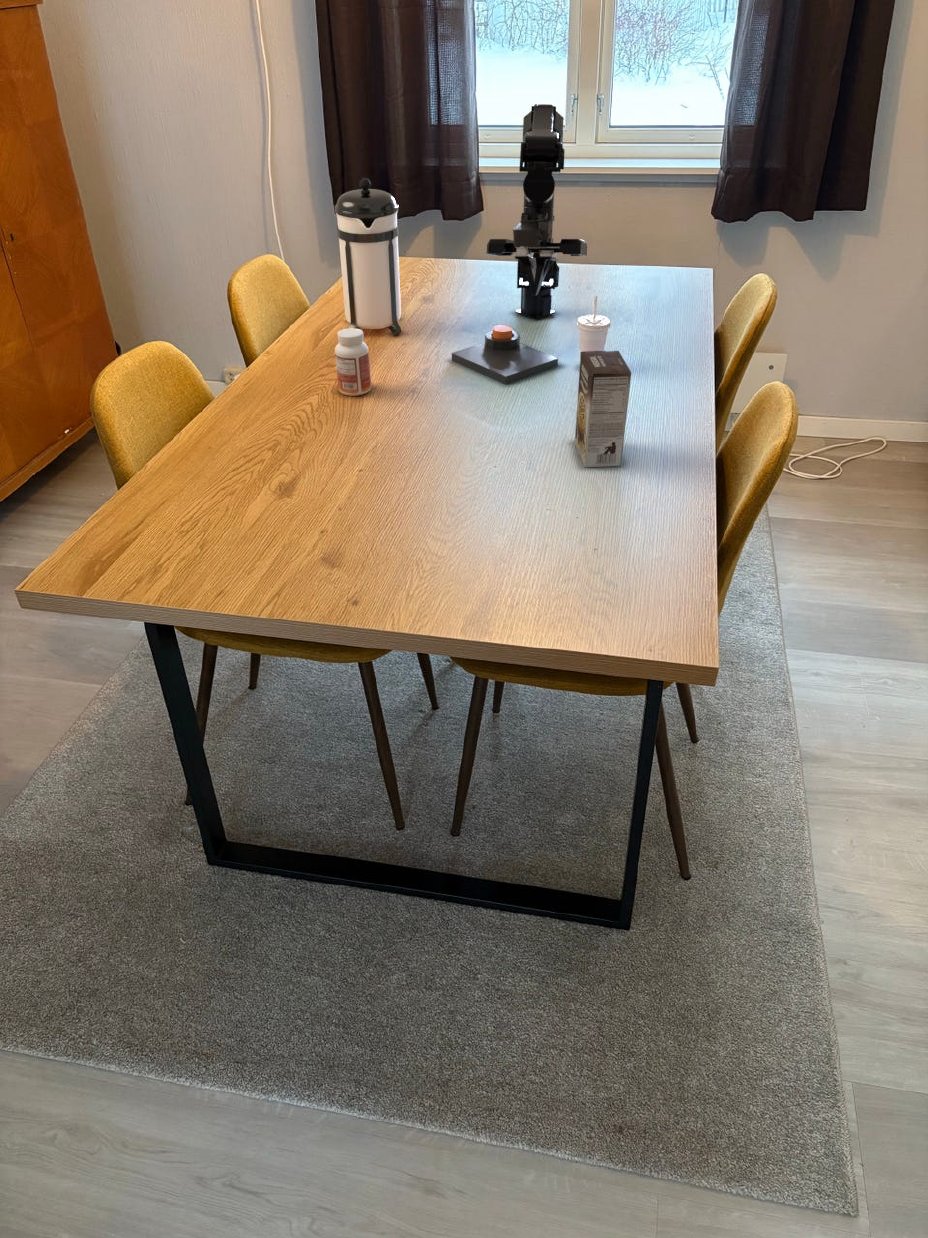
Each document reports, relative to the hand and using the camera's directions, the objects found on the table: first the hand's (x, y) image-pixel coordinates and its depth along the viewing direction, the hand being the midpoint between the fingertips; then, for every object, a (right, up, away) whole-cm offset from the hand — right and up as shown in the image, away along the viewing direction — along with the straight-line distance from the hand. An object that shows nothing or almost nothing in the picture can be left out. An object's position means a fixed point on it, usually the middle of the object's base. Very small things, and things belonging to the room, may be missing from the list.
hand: (534, 295), depth 184 cm
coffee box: (+8, -36, -28) cm, 47 cm away
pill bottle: (-34, -20, -7) cm, 41 cm away
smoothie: (+11, -14, +1) cm, 18 cm away
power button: (-6, -6, +7) cm, 11 cm away
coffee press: (-34, 0, +21) cm, 40 cm away
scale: (-6, -13, +3) cm, 14 cm away
